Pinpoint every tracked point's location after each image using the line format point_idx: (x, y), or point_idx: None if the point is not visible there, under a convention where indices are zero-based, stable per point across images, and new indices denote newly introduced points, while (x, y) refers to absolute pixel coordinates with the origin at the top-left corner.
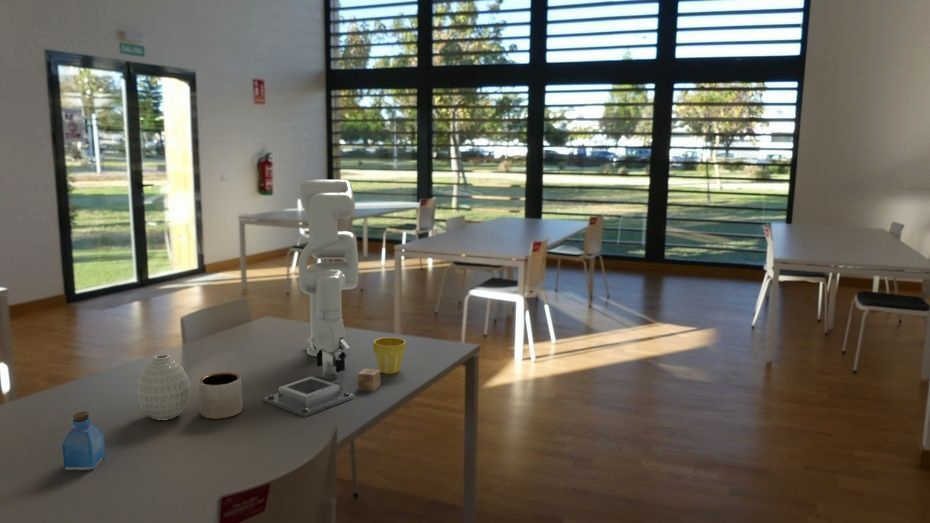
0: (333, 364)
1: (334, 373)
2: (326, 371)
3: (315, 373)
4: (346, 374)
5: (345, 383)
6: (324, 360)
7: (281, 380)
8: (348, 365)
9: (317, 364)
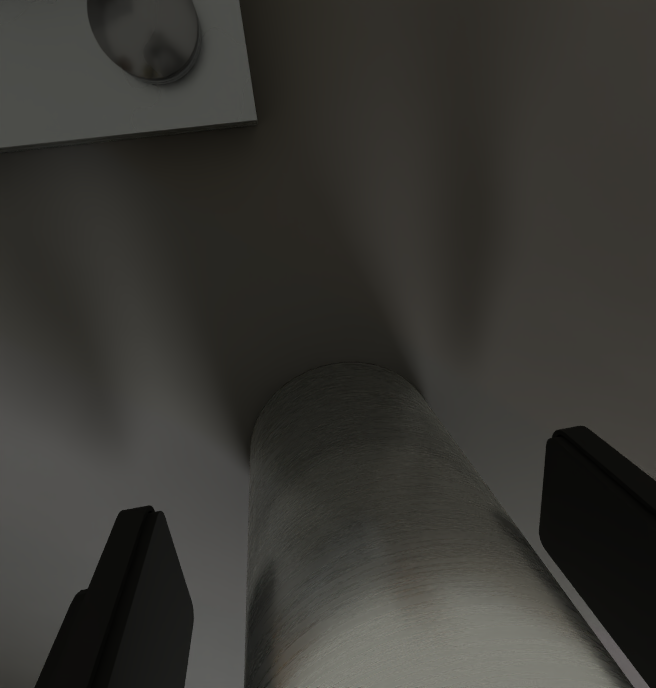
0: (250, 593)
1: (249, 486)
2: (321, 425)
3: (562, 378)
4: None
5: (20, 461)
6: (405, 549)
7: None
8: None
9: (589, 441)
